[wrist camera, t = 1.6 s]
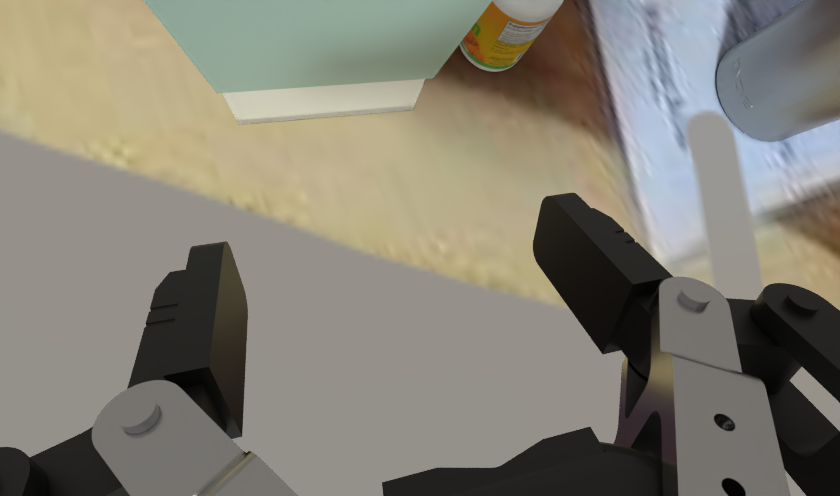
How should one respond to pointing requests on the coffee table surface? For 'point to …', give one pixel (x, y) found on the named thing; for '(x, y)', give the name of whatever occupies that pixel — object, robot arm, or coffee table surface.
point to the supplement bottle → (506, 32)
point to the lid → (316, 39)
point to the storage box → (323, 101)
